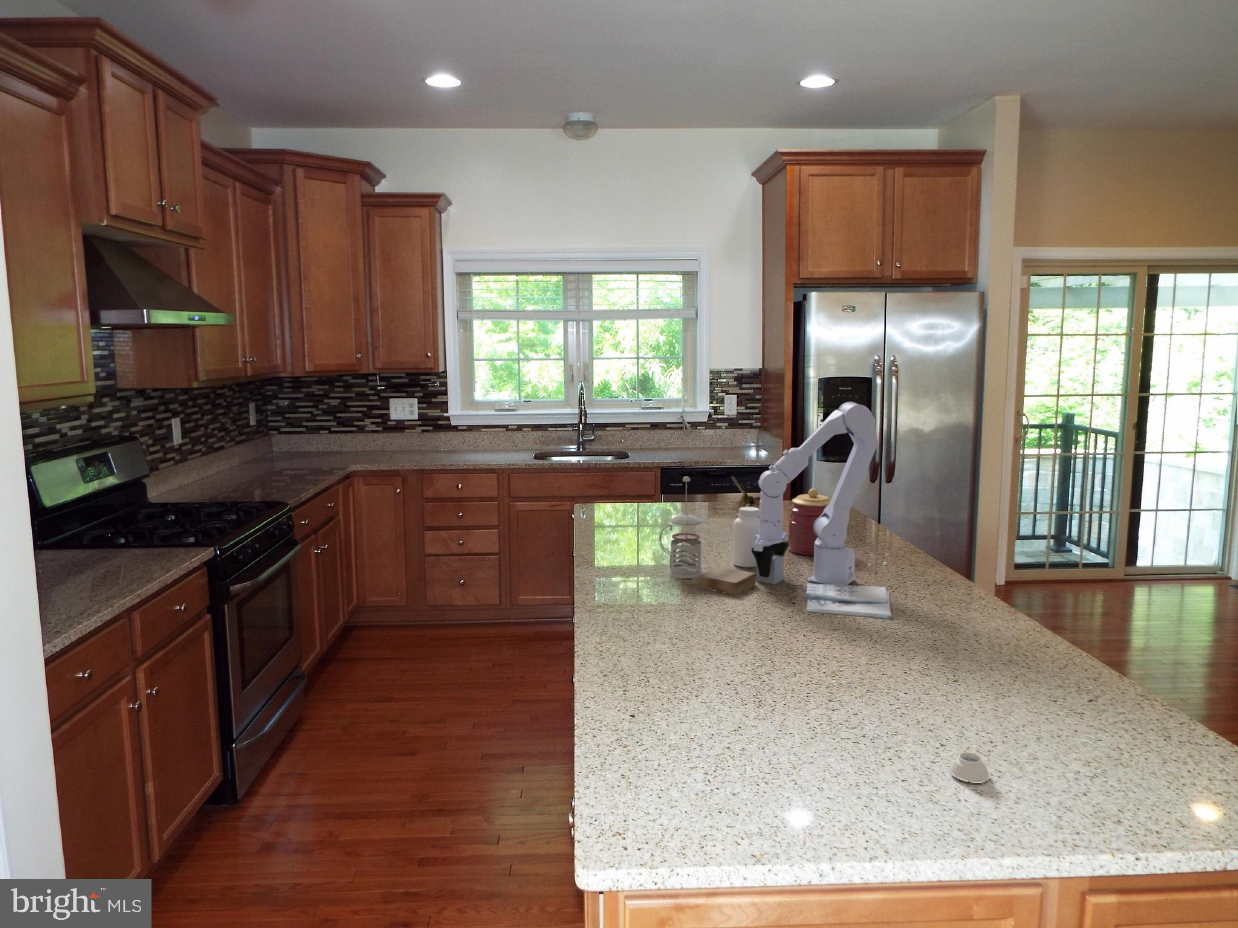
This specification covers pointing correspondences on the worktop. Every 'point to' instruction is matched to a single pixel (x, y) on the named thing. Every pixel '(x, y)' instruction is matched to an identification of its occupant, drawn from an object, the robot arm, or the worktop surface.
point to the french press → (684, 547)
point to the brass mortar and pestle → (747, 498)
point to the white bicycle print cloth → (848, 600)
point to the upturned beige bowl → (969, 767)
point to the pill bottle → (745, 536)
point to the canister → (805, 521)
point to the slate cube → (773, 571)
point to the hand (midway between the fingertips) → (769, 573)
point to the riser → (727, 580)
